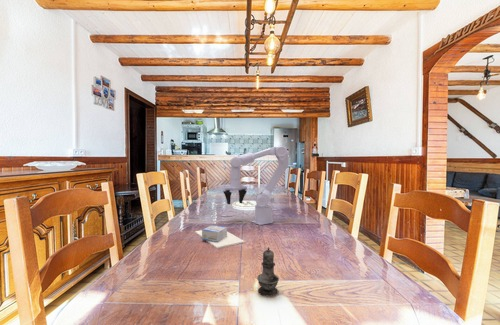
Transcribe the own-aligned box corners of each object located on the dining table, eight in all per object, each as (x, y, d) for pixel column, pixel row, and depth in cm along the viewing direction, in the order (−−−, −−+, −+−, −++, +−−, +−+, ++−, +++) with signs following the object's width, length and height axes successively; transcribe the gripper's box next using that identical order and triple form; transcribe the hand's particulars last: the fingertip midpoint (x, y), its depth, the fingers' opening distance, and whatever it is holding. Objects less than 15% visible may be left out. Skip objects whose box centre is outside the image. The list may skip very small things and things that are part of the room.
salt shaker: (255, 285, 69) (256, 243, 69) (276, 285, 69) (277, 242, 69) (258, 297, 63) (258, 251, 63) (280, 296, 64) (281, 251, 63)
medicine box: (227, 226, 109) (217, 231, 101) (227, 236, 109) (217, 242, 101) (211, 224, 112) (201, 229, 104) (211, 234, 112) (201, 240, 104)
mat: (219, 228, 124) (219, 227, 124) (244, 242, 103) (244, 241, 103) (194, 232, 116) (194, 231, 116) (216, 248, 96) (216, 247, 96)
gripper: (242, 178, 142) (242, 201, 142) (220, 178, 134) (219, 203, 135) (249, 179, 136) (248, 203, 137) (226, 179, 128) (225, 205, 129)
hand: (234, 203), depth 135 cm, fingers open, 7 cm apart
